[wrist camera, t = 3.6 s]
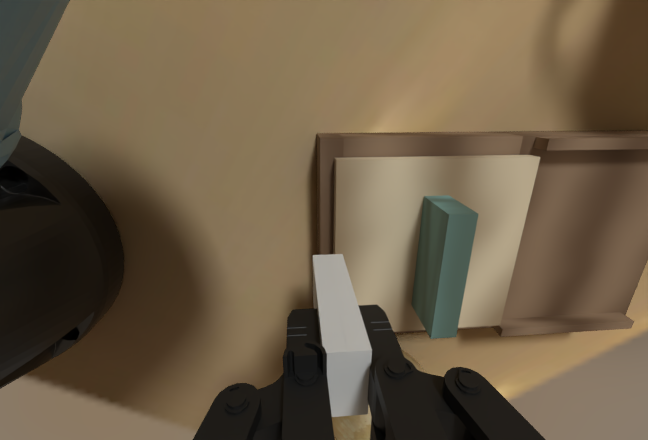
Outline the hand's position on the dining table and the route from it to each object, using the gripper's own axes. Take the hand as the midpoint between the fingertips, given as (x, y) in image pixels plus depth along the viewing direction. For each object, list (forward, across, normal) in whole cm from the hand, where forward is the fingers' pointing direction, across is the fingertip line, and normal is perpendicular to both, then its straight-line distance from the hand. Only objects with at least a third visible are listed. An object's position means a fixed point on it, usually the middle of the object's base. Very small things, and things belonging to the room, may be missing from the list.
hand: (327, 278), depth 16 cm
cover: (+3, +6, 0) cm, 7 cm away
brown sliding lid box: (+6, +11, 0) cm, 12 cm away
